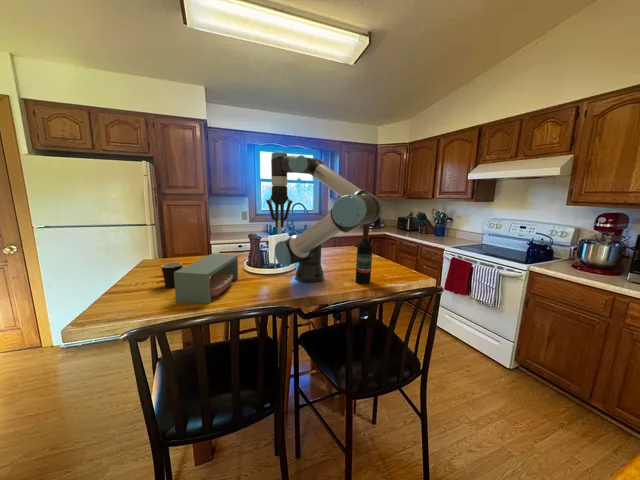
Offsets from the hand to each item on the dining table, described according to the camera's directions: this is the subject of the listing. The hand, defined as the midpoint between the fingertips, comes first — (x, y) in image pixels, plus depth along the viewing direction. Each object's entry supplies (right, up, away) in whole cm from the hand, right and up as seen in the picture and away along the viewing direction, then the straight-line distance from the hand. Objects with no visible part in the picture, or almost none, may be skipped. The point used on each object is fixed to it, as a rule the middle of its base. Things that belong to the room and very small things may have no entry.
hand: (279, 233), depth 135 cm
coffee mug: (-49, -25, -6) cm, 55 cm away
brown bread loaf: (-26, -27, -11) cm, 39 cm away
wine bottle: (+42, -25, +5) cm, 49 cm away
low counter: (-30, -26, -10) cm, 41 cm away
